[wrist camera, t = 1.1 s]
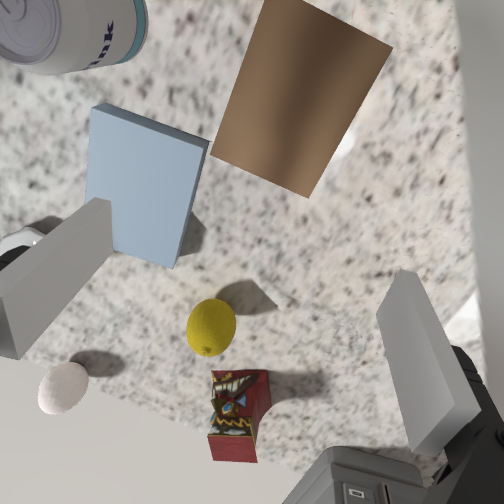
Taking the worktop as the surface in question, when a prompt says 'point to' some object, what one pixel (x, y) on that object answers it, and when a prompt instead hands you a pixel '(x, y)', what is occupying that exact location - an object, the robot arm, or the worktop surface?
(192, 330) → the lemon
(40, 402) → the egg
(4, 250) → the figurine
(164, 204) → the base brick
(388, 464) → the toaster
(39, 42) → the beverage can
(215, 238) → the worktop surface
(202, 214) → the worktop surface
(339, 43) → the walnut brick
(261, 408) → the tiki totem
